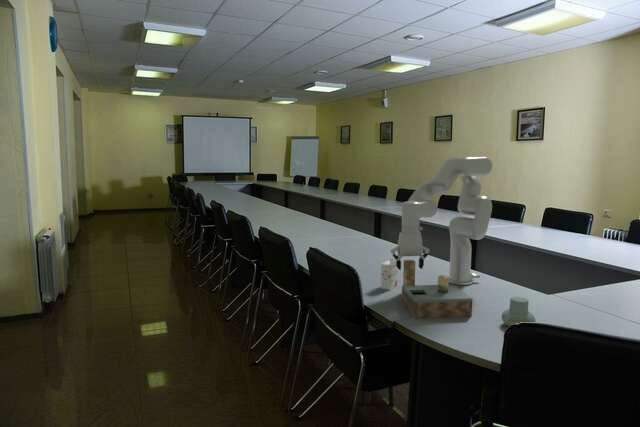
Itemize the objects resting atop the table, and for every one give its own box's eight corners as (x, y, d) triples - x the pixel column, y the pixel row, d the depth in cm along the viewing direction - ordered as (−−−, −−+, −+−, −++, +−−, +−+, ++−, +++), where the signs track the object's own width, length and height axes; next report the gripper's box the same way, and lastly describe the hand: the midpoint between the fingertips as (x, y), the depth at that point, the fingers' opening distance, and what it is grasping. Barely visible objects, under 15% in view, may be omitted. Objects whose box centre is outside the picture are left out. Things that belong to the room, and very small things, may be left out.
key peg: (411, 292, 190) (412, 259, 189) (414, 295, 187) (415, 261, 185) (402, 292, 190) (403, 259, 188) (405, 295, 186) (406, 262, 184)
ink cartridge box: (387, 283, 204) (388, 253, 202) (397, 285, 201) (398, 254, 199) (380, 288, 196) (380, 257, 194) (390, 290, 194) (391, 258, 192)
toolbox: (452, 300, 180) (453, 286, 179) (471, 316, 162) (472, 300, 161) (401, 302, 178) (401, 288, 177) (415, 318, 160) (415, 302, 159)
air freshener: (501, 328, 150) (503, 301, 149) (500, 320, 158) (502, 294, 157) (536, 333, 147) (537, 305, 145) (533, 324, 154) (535, 297, 153)
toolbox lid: (453, 286, 179) (454, 270, 178) (472, 300, 161) (473, 282, 160) (401, 288, 177) (402, 271, 176) (415, 302, 159) (416, 284, 158)
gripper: (427, 227, 189) (426, 265, 191) (388, 229, 188) (388, 267, 190) (433, 230, 182) (432, 270, 184) (393, 232, 180) (392, 271, 183)
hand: (409, 268), depth 187 cm, fingers open, 9 cm apart
